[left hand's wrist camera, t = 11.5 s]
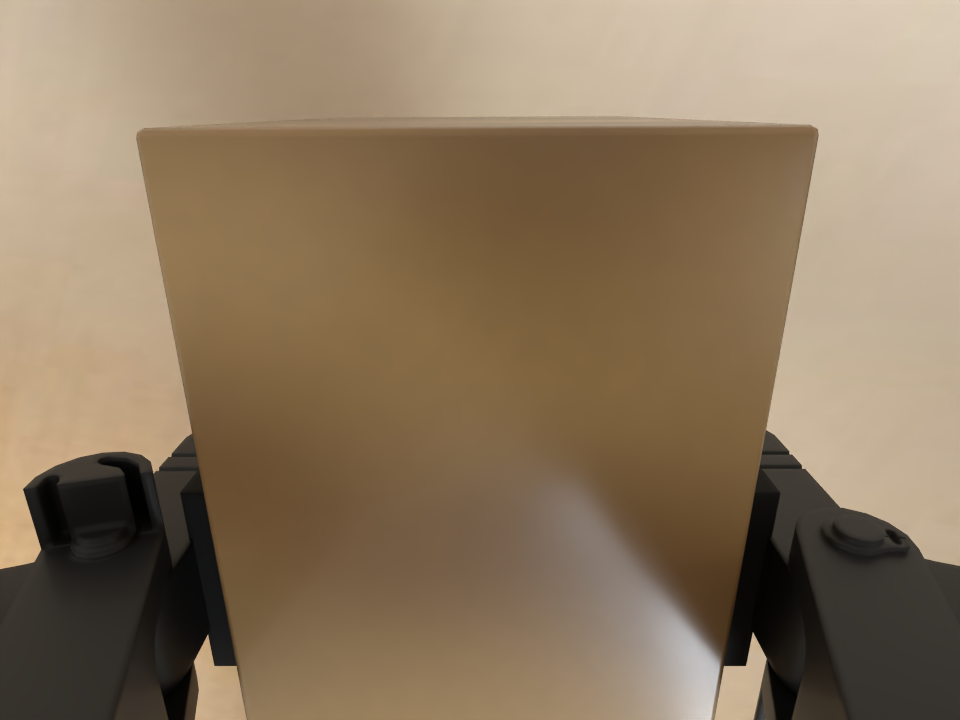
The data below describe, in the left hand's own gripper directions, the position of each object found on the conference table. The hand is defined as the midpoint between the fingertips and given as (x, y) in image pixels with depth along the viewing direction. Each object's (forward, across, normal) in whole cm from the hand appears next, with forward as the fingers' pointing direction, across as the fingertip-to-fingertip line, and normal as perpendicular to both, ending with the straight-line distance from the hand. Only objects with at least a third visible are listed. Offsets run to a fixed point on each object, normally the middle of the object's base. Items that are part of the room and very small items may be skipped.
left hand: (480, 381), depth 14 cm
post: (+1, 0, -28) cm, 29 cm away
